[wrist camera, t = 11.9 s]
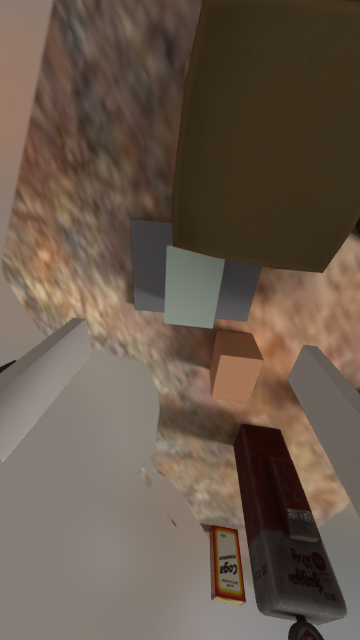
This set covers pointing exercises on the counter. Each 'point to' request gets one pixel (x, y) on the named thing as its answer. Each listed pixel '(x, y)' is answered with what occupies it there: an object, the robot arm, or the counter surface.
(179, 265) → the sage brick
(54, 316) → the counter surface
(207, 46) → the wooden toy train
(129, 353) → the counter surface
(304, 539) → the toy vending machine
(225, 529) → the baking soda box
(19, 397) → the robot arm
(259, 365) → the terracotta brick
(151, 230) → the base plate
